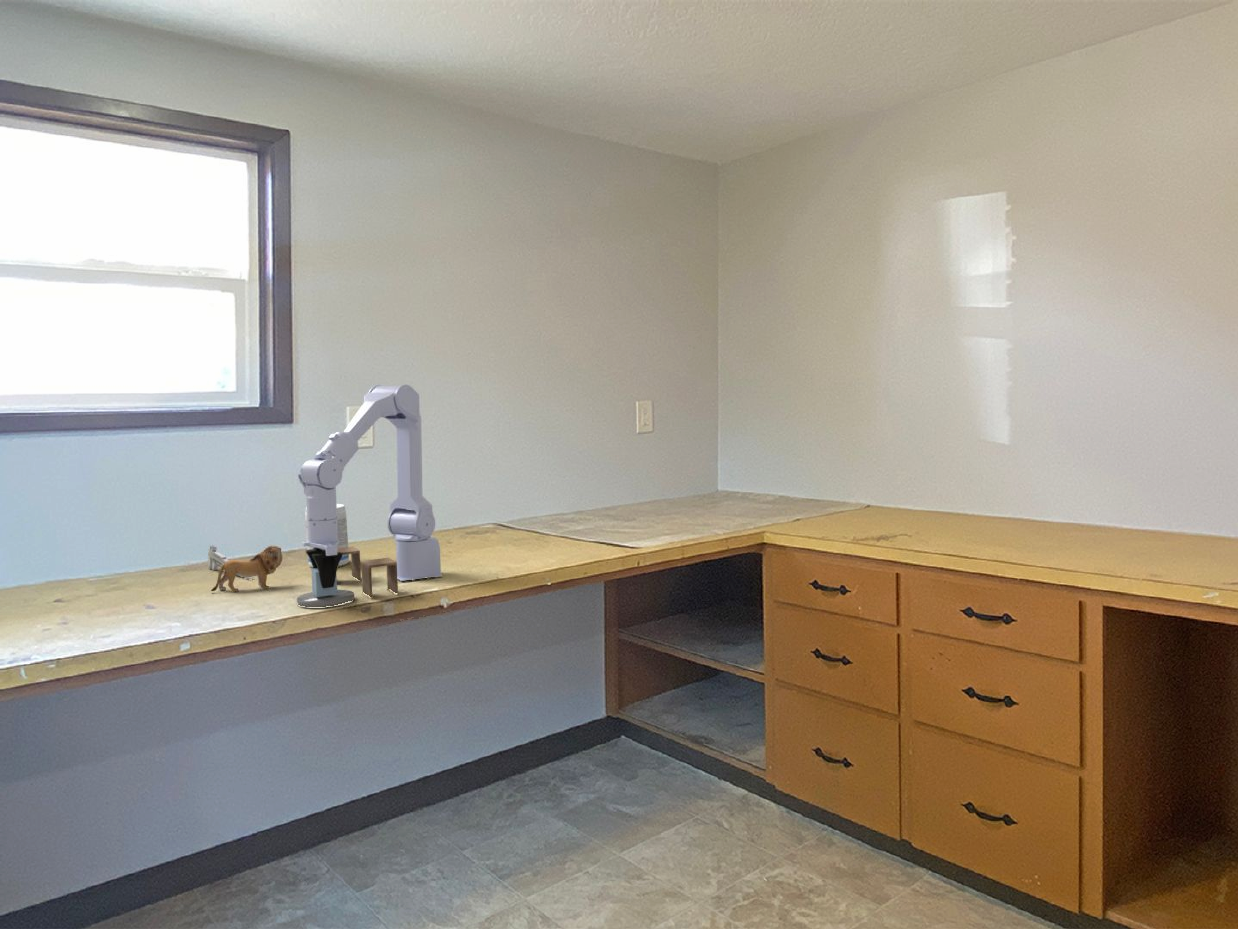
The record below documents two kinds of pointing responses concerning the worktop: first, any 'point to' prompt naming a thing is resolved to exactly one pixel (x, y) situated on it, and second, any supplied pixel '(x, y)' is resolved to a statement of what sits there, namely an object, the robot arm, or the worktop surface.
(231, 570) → the lion figurine
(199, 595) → the worktop surface
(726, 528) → the worktop surface
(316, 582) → the block
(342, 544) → the supplement tub
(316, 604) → the dish
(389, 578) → the brown wooden stool
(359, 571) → the brown wooden arch
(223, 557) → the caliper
